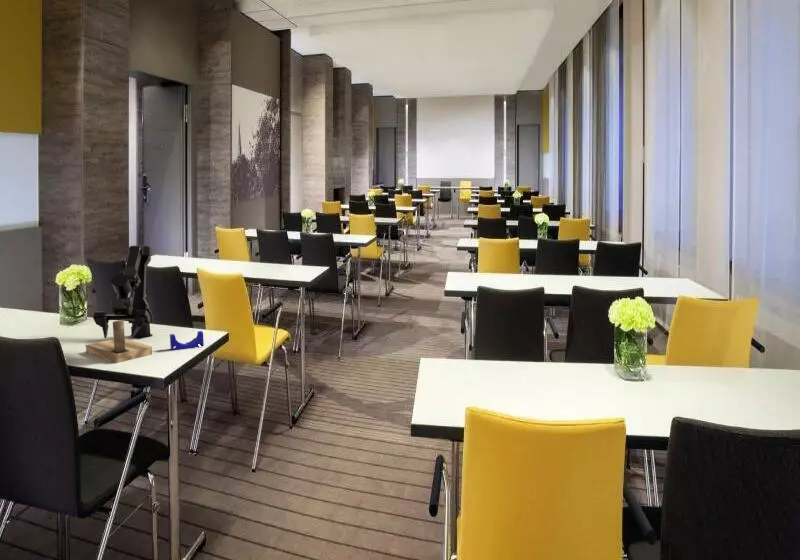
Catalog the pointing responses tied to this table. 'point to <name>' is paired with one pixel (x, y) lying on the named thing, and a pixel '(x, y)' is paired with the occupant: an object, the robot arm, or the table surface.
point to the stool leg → (119, 337)
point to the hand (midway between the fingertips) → (118, 337)
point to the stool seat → (108, 352)
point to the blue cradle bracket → (190, 344)
